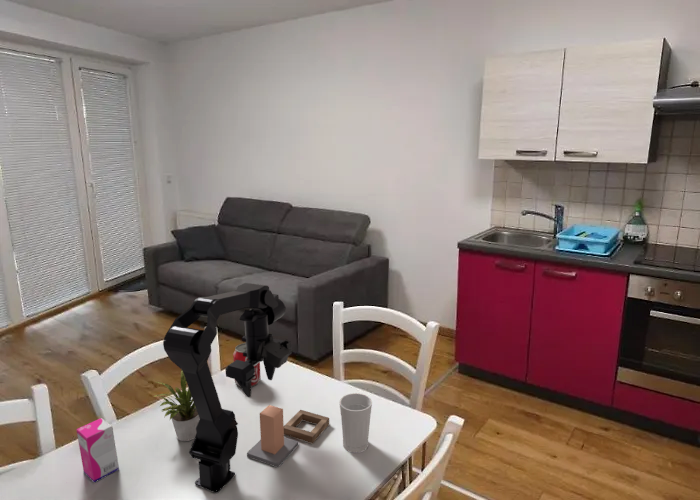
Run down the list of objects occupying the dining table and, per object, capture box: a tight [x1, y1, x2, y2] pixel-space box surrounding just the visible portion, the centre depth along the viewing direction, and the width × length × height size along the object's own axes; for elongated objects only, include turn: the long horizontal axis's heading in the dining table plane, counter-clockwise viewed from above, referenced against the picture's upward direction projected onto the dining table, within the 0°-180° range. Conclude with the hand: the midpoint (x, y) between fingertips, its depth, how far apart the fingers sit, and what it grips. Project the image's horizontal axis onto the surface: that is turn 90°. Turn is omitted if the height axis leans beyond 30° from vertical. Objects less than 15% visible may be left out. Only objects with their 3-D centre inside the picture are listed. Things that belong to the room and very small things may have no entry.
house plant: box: [153, 369, 200, 442], centre depth 119 cm, size 14×14×16 cm
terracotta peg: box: [259, 404, 285, 454], centre depth 113 cm, size 4×4×10 cm
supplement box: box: [75, 417, 120, 483], centre depth 106 cm, size 6×6×12 cm
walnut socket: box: [284, 409, 330, 444], centre depth 123 cm, size 9×9×2 cm
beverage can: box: [232, 342, 262, 388], centre depth 145 cm, size 8×8×12 cm
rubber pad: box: [246, 436, 299, 468], centre depth 114 cm, size 9×9×1 cm
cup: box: [339, 392, 373, 453], centre depth 115 cm, size 8×8×12 cm
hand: (259, 387), depth 120 cm, fingers open, 9 cm apart
